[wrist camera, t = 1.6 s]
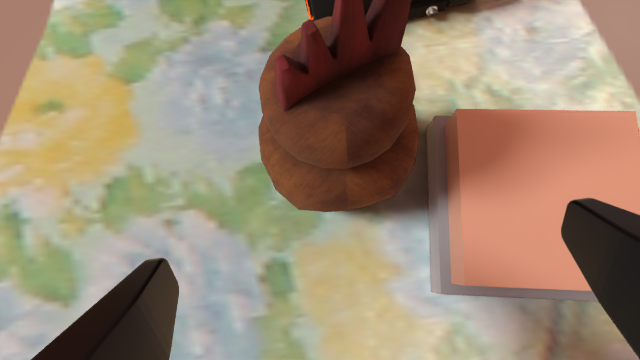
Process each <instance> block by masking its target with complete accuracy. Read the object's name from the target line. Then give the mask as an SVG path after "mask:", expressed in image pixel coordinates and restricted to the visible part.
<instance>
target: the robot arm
mask: <svg viewBox="0 0 640 360" xmlns="http://www.w3.org/2000/svg"><path fill="white" fill-rule="evenodd" d="M561 236H562V239H563V241H564V243H565V245H566V246H567V248H568V250H569V252H570V253H571V255H572V257H573V259H574V260H575V262H576V264H577V266H578V267H579V269H580V271H581V273H582V274H583V276H584V278H585V280H586V281H587V283H588V285H589V287H590V288H591V290H592V292H593V293H594V295H595V296H596V298H597V300H598V301H599V303H600V304H601V306H602V307H603V309H604V310H605V311H606V313H607V314H608V316H609V317H610V318H611V320H612V321H613V323H614V324H615V325H616V327H617V328H618V330H619V331H620V332H621V334H622V335H623V337H624V338H625V339H626V341H627V342H628V344H629V345H630V346H631V348H632V349H633V350H634V352H635V353H636V355H637V356H638V357H639V359H640V215H638V214H635V213H633V212H630V211H627V210H624V209H622V208H619V207H616V206H613V205H611V204H608V203H605V202H602V201H599V200H597V199H594V198H582V199H575V200H572V201H570V202H569V203H568V205H567V207H566V211H565V215H564V219H563V223H562V226H561ZM178 297H179V285H178V282H177V280H176V278H175V276H174V274H173V271H172V269H171V267H170V265H169V263H168V261H167V260H166V259H164V258H156V259H149V260H146V261H144V262H143V263H142V264H141V265H139V266H138V267H137V268H136V269H135V270H134V271H132V272H131V273H130V274H129V275H128V276H127V277H126V278H124V279H123V280H122V281H121V282H120V283H119V284H117V285H116V286H115V287H114V288H113V289H112V290H111V291H109V292H108V293H107V294H106V295H105V296H104V297H103V298H101V299H100V300H99V301H98V302H97V303H96V304H94V305H93V306H92V307H91V308H90V309H89V310H88V311H86V312H85V313H84V314H83V315H82V316H81V317H79V318H78V319H77V320H76V321H75V322H74V323H73V324H71V325H70V326H69V327H68V328H67V329H66V330H65V331H63V332H62V333H61V334H60V335H59V336H58V337H56V338H55V339H54V340H53V341H52V342H51V343H50V344H48V345H47V346H46V347H45V348H44V349H43V350H41V351H40V352H39V353H38V354H37V355H36V356H35V357H33V358H32V359H31V360H169V358H170V352H171V346H172V339H173V332H174V325H175V318H176V311H177V304H178Z"/></svg>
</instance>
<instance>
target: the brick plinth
mask: <svg viewBox="0 0 640 360" xmlns="http://www.w3.org/2000/svg"><path fill="white" fill-rule="evenodd" d="M427 163H428V199H429V236H430V272H431V292H434V293H438V294H446V295H469V296H492V297H514V298H537V299H559V300H582V301H598V300H597V298H596V296H595V295H594V293H593V292H592V290H591V288H590V287H589V285H588V283H587V281H586V280H585V278H584V276H583V274H582V273H581V271H580V269H579V267H578V266H577V264H576V262H575V260H574V259H573V257H572V255H571V253H570V252H569V250H568V248H567V246H566V245H565V243H564V241H563V239H562V236H561V226H562V223H563V219H564V215H565V211H566V207H567V205H568V203H569V202H570V201H572V200H575V199H582V198H594V199H597V200H599V201H602V202H605V203H608V204H611V205H613V206H616V207H619V208H622V209H624V210H627V211H630V212H633V213H635V214H638V215H640V136H639V130H638V124H637V118H636V112H635V111H568V110H490V109H456V110H455V112H454V113H453V115H452V116H435V117H434V118H433V120H432V122H431V123H430V125H429V127H428V128H427Z"/></svg>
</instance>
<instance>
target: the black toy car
mask: <svg viewBox="0 0 640 360" xmlns="http://www.w3.org/2000/svg"><path fill="white" fill-rule="evenodd" d="M305 1H306V6H307V10H308V13H309V16H310V19H311V20H313V21H316V20H319V19H322V18H325V17H332V15H333V10H334V4H335V0H305ZM372 1H373V0H363V6H364V12H365V17H366V15H367V12H368V10H369V8H370V6H371V3H372ZM470 1H475V0H411V5H410V9H409V14H408V19H412V18H416V17H420V16H424V15H428V16H433V15H436V14H437V13H438V12H441V11H445V8H446V7H449V6H454V5H458V4H462V3H466V2H470Z"/></svg>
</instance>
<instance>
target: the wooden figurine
mask: <svg viewBox="0 0 640 360" xmlns="http://www.w3.org/2000/svg"><path fill="white" fill-rule="evenodd" d="M410 5H411V0H373V1H372V3H371V6H370V8H369V10H368V12H367V15H366V17H365V12H364V6H363V0H335V4H334V10H333V15H332V17H325V18H322V19H319V20H316V21H313V20H311V19H310V20H308V21H306V22H304V23H303V24H302V27H301V28H299V29H298V30H296V31H294V32H293V33H291V34H290V35H289V36H287V37H286V38H285V39H284V40H283V41H282V42H281V44H280V45H279V46H278V47H277V48H276V49H275V50H274V51H273V52H272V53H271V55H270V56H269V59H268V61H267V63H266V66H265V68H264V71H263V73H262V75H261V78H260V84H259V92H260V100H261V107H262V113H263V117H262V120H261V123H260V125H259V142H260V152H261V160H262V162H263V164H264V166H265V168H266V170H267V172H268V174H269V176H270V178H271V180H272V182H273V184H274V187H275V189H276V190H277V191H278V192H279V193H280V194H281V195H282V196H283V197H285V198H286V199H287V200H288V201H289V202H290V203H292V204H293V205H294V206H295V207H296V208H298V209H299V210H311V211H322V212H332V211H346V210H351V209H356V208H361V207H366V206H369V205H372V204H375V203H377V202H380V201H383V200H385V199H388V198H391V197H393V196H394V195H395V194H396V193H397V191H398V190H399V188H400V187H401V186H402V184H403V183H404V181H405V180H406V178H407V177H408V175H409V174H410V172H411V171H412V169H413V166H414V163H415V159H416V153H417V146H418V140H419V133H418V127H417V121H416V114H415V108H414V105H413V99H414V95H415V91H416V88H415V82H414V76H413V71H412V65H411V61H410V57H409V55H408V53H407V52H406V51H405V50H404V49H403V48H402V47H401V43H402V39H403V35H404V31H405V27H406V23H407V19H408V14H409V9H410Z"/></svg>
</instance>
